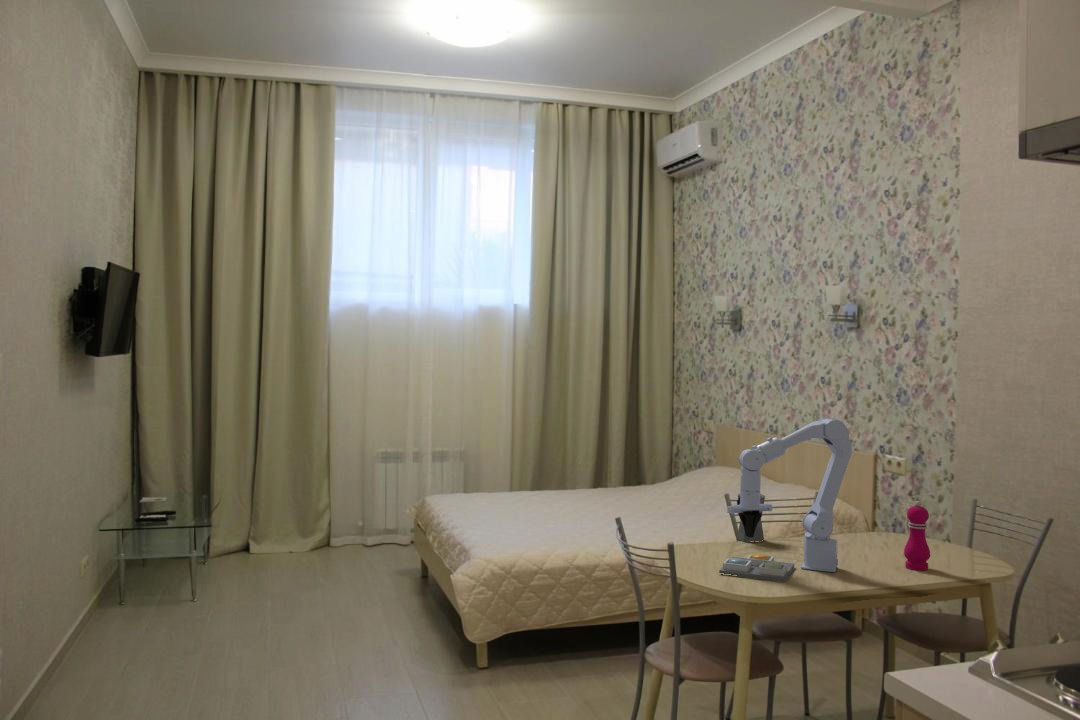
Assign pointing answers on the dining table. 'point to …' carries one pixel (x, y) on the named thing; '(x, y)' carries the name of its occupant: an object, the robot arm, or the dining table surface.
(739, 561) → the button blue
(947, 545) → the dining table surface
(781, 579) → the control board
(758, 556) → the button orange
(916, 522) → the pepper mill
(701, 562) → the dining table surface
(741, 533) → the coffeepot
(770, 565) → the button sage
